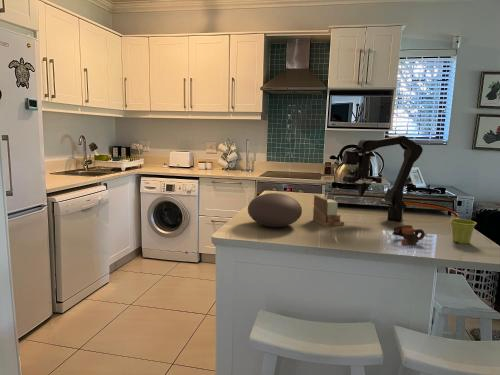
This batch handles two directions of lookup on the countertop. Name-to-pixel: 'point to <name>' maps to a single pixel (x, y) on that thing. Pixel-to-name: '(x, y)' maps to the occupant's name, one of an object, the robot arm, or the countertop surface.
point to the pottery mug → (408, 234)
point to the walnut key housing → (324, 213)
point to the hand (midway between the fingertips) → (360, 196)
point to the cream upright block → (331, 207)
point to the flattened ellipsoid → (274, 210)
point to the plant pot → (462, 230)
